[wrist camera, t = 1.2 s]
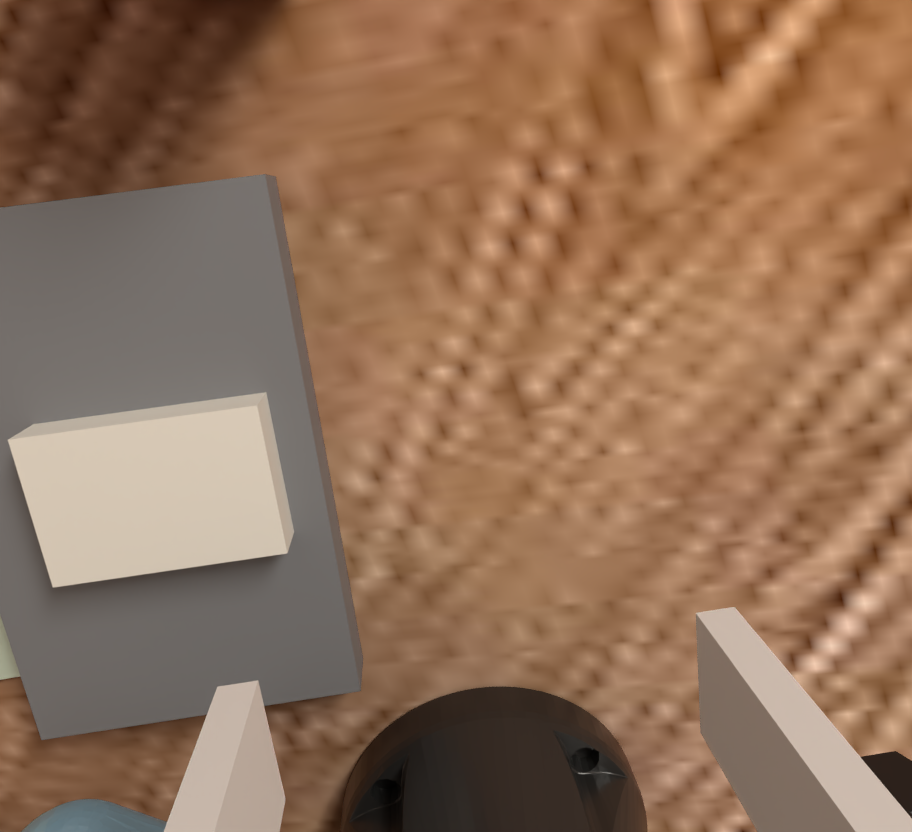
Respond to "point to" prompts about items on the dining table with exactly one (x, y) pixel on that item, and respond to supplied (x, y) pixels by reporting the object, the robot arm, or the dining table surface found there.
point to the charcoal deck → (156, 385)
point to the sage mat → (6, 656)
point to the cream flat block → (155, 489)
